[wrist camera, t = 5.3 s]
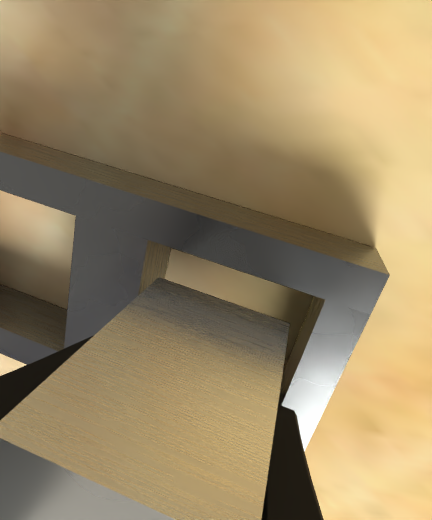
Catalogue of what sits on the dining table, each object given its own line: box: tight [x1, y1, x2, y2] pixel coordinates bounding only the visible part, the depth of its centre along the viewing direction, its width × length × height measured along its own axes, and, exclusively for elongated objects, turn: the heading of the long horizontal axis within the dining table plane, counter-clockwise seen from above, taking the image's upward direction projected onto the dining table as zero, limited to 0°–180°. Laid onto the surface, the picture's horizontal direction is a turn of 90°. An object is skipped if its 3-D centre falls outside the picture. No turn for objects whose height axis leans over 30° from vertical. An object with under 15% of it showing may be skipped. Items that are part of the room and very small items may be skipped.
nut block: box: [0, 277, 290, 520], centre depth 8 cm, size 4×4×6 cm
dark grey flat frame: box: [0, 133, 389, 451], centre depth 13 cm, size 16×8×2 cm, turn 77°
